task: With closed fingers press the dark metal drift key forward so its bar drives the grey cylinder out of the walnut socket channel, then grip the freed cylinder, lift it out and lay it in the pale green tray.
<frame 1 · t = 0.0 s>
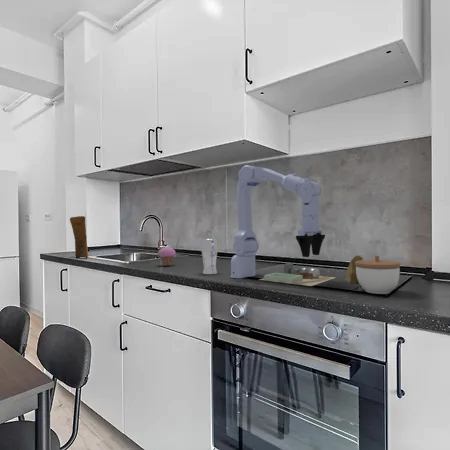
hand: (311, 255, 116), 10 cm above the worktop, tool pointing down, fingers open, 7 cm apart
board: (297, 281, 124), on the worktop
pancake mix bag: (80, 258, 226), on the worktop
tray: (283, 282, 122), resting on board
grey cylinder: (308, 277, 126), point 1 cm above the worktop, touching board
beer glass: (209, 273, 147), on the worktop
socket: (308, 280, 126), resting on board
drift key: (292, 269, 130), point 3 cm above the worktop, slide at 0.0 cm
lidded bowl: (377, 292, 104), on the worktop
rock: (351, 284, 117), on the worktop
cupcake: (167, 266, 175), on the worktop
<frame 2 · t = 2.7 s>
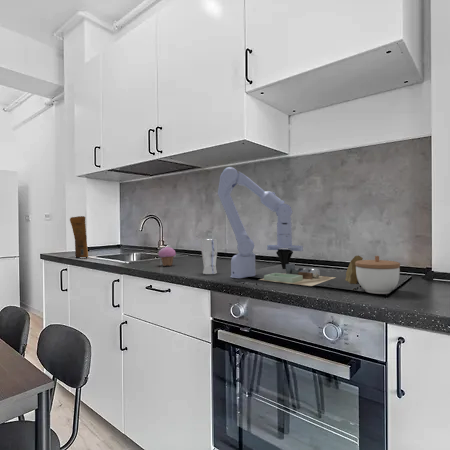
hand: (285, 268, 132), 3 cm above the worktop, tool pointing down, fingers closed
drift key: (293, 269, 130), point 3 cm above the worktop, slide at 0.7 cm, touching gripper
everything else where it was.
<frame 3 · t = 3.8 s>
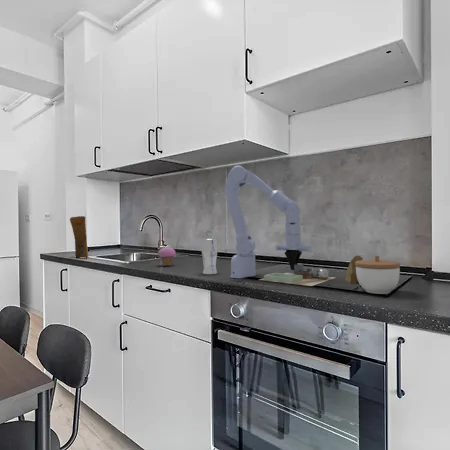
hand: (293, 269, 130), 3 cm above the worktop, tool pointing down, fingers closed
grey cylinder: (317, 278, 123), point 1 cm above the worktop, touching board, drift key
drift key: (302, 270, 127), point 3 cm above the worktop, slide at 4.3 cm, touching grey cylinder, gripper
everything else where it was.
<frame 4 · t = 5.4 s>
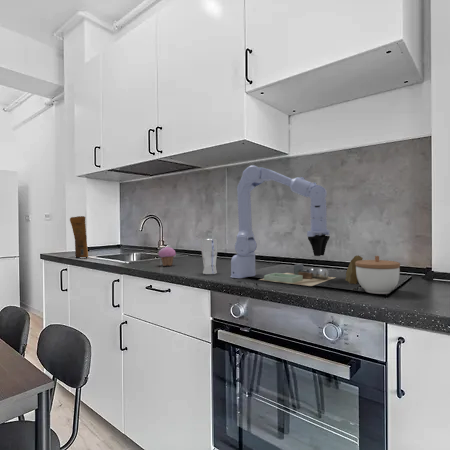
hand: (319, 255, 123), 9 cm above the worktop, tool pointing down, fingers closed
drift key: (302, 270, 127), point 3 cm above the worktop, slide at 4.3 cm, touching grey cylinder
everything else where it was.
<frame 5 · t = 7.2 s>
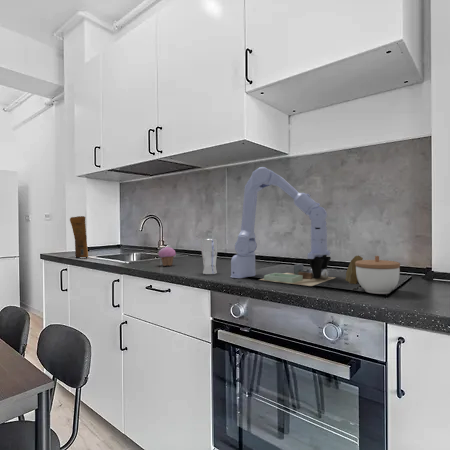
hand: (319, 276, 123), 2 cm above the worktop, tool pointing down, fingers closed on grey cylinder, 4 cm apart
grey cylinder: (317, 278, 123), point 1 cm above the worktop, touching board, gripper
drift key: (302, 270, 127), point 3 cm above the worktop, slide at 4.3 cm
everything else where it was.
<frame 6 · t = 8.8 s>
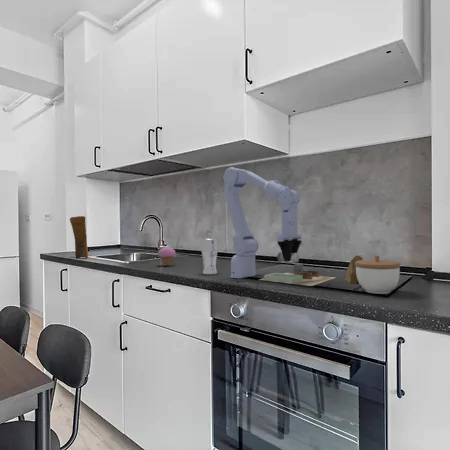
hand: (289, 260, 122), 8 cm above the worktop, tool pointing down, fingers closed on grey cylinder, 4 cm apart
grey cylinder: (288, 262, 122), point 7 cm above the worktop, touching gripper
everything else where it was.
when the fingers open (3 cm above the worktop, at t = 10.2 s): grey cylinder stays where it is, resting on tray.
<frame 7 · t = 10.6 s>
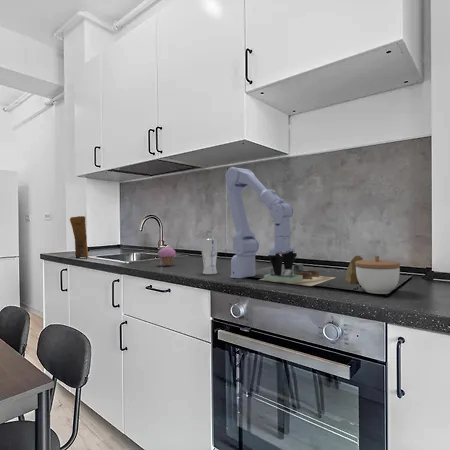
hand: (283, 273, 122), 3 cm above the worktop, tool pointing down, fingers open, 7 cm apart
grey cylinder: (281, 278, 122), point 1 cm above the worktop, touching tray
everything else where it was.
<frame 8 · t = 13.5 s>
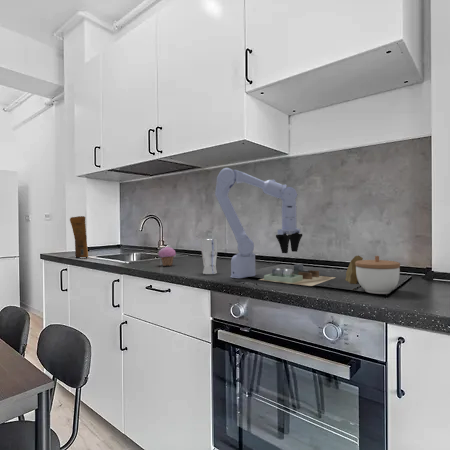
hand: (289, 252, 132), 10 cm above the worktop, tool pointing down, fingers open, 7 cm apart
grey cylinder: (281, 277, 122), point 2 cm above the worktop, tilted 33°, touching tray
everything else where it was.
at the end: grey cylinder inside the target area on the tray (0.7 cm from its centre), point 1.7 cm above the tray's base; drift key slide at 4.3 cm; the gripper is holding nothing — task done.
